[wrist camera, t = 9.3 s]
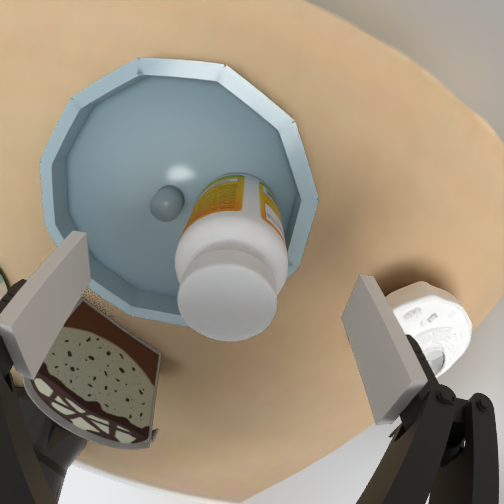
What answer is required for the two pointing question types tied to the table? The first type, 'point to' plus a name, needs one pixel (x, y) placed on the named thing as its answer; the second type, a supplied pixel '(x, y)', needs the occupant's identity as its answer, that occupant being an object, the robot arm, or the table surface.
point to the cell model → (433, 322)
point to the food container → (99, 381)
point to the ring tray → (164, 171)
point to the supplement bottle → (231, 259)
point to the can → (2, 287)
